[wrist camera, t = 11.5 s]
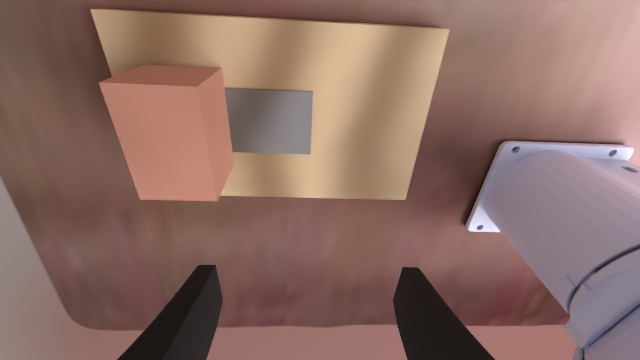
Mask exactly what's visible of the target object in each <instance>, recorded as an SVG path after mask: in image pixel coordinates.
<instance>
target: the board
mask: <svg viewBox="0 0 640 360" xmlns="http://www.w3.org/2000/svg"><path fill="white" fill-rule="evenodd" d="M90 10H91V13H92V17H93V20H94V23H95V26H96V29H97V32H98V35H99V38H100V41H101V44H102V47H103V50H104V53H105V56H106V59H107V62H108V65H109V69H110V72H111V75H112V77H114V76H117V75H119V74H122V73H124V72H127V71H130V70H132V69H135V68H137V67H140V66H142V65H145V64H152V65H173V66H194V67H216V68H222V72H223V80H224V88H225V96H226V104H227V112H228V120H229V128H230V136H231V144H232V151H233V159H234V166H233V168H232V170H231V173H230V175H229V177H228V179H227V181H226V183H225V186H224V188H223V190H222V192H221V194H220V196H258V197H300V198H341V199H383V200H405V199H406V195H407V192H408V188H409V184H410V180H411V176H412V172H413V169H414V165H415V161H416V157H417V153H418V149H419V146H420V142H421V138H422V134H423V130H424V126H425V123H426V119H427V115H428V111H429V107H430V103H431V99H432V96H433V92H434V88H435V84H436V80H437V76H438V73H439V69H440V65H441V61H442V57H443V53H444V50H445V46H446V42H447V38H448V34H449V30H450V29H445V28H440V27H422V26H404V25H387V24H369V23H351V22H333V21H315V20H298V19H280V18H262V17H244V16H227V15H209V14H191V13H173V12H155V11H138V10H120V9H90Z"/></svg>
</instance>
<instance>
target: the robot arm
mask: <svg viewBox="0 0 640 360" xmlns="http://www.w3.org/2000/svg"><path fill="white" fill-rule="evenodd" d="M514 147H516V148H515V149H514V150H513V151H512V149H513V148H514ZM633 152H634V149H633V147H631V146H628V145H614V144H585V143H557V142H529V141H505V142H503V143H502V144H501V145H500V146H499V148H498V150H497V153H496V155H495V158H494V160H493V162H492V165H491V167H490V169H489V172H488V174H487V176H486V179H485V181H484V183H483V186H482V188H481V190H480V193H479V195H478V197H477V200H476V202H475V204H474V207H473V209H472V212H471V214H470V216H469V219H468V221H467V223H466V228H467V229H468V230H469V231H472V232H501V233H502V234H503V235H504V236H505V238H506V239H507V240H508V241H509V242H510V244H511V245H512V246H513V247H514V249H515V250H516V251H517V252H518V253H519V255H520V256H521V257H522V258H523V259H524V261H525V262H526V263H527V264H528V266H529V267H530V268H531V269H532V270H533V272H534V273H535V274H536V275H537V276H538V278H539V279H540V280H541V281H542V282H543V284H544V285H545V286H546V287H547V289H548V290H549V291H550V292H551V293H552V295H553V296H554V297H555V298H556V299H557V301H558V302H559V303H560V304H561V306H562V307H563V308H564V309H565V310H566V312H567V313H568V314H569V315H570V320H569V321H568V323H567V324H566V325H565V326H564V328H565V329H566V330H567V332H568V333H569V334H570V335H571V337H572V338H573V339H574V341H576V343H577V344H578V347H577V348H576V349H575V352H574V355H573V360H640V167H638V166H636V165H634V164H632V163H630V162H628V159H629V158H630V157H631V155H632V154H633ZM479 225H480V226H479ZM222 300H223V298H222V293H221V289H220V284H219V279H218V275H217V270H216V265H199V266H197V267H196V269H195V270H194V271H193V273H192V274H191V275H190V276H189V278H188V279H187V280H186V282H185V283H184V284H183V285H182V287H181V288H180V289H179V291H178V292H177V293H176V294H175V295H174V297H173V298H172V299H171V300H170V302H169V303H168V304H167V305H166V306H165V308H164V309H163V310H162V311H161V312H160V313H159V315H158V316H157V317H156V318H155V319H154V320H153V322H152V323H151V324H150V325H149V326H148V327H147V328H146V329H145V330H144V332H143V333H142V334H141V335H140V336H139V337H138V338H137V339H136V340H135V341H134V342H133V344H132V345H131V346H130V347H129V348H128V349H127V350H126V351H125V352H124V353H123V354H122V355H121V356H120V357H119V358H118V359H117V360H206V358H207V355H208V353H209V350H210V346H211V343H212V340H213V337H214V334H215V331H216V328H217V324H218V319H219V315H220V310H221V305H222ZM393 303H394V309H395V315H396V320H397V325H398V329H399V332H400V336H401V339H402V342H403V346H404V349H405V353H406V356H407V359H408V360H495V359H494V358H493V357H492V356H491V355H490V354H489V353H488V352H487V351H486V349H485V348H484V347H483V346H482V345H481V344H480V343H479V342H478V341H477V339H476V338H475V337H474V336H473V335H472V334H471V333H470V332H469V330H468V329H467V328H466V327H465V326H464V325H463V323H462V322H461V321H460V320H459V319H458V317H457V316H456V315H455V314H454V313H453V311H452V310H451V309H450V308H449V306H448V305H447V304H446V303H445V301H444V300H443V299H442V298H441V296H440V295H439V294H438V293H437V291H436V290H435V289H434V287H433V286H432V285H431V283H430V282H429V281H428V279H427V278H426V277H425V275H424V274H423V273H422V272H421V270H420V269H419V268H412V267H403V268H402V272H401V275H400V278H399V282H398V285H397V288H396V292H395V295H394V298H393Z"/></svg>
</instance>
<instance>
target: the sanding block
mask: <svg viewBox="0 0 640 360" xmlns="http://www.w3.org/2000/svg"><path fill="white" fill-rule="evenodd" d="M99 85H100V88H101V91H102V94H103V96H104V99H105V102H106V105H107V108H108V111H109V113H110V116H111V119H112V122H113V125H114V127H115V130H116V133H117V136H118V139H119V142H120V144H121V147H122V150H123V153H124V156H125V158H126V161H127V164H128V167H129V170H130V173H131V175H132V178H133V181H134V184H135V187H136V189H137V192H138V195H139V198H140V199H142V200H186V201H218V198H219V196H220V194H221V192H222V190H223V188H224V186H225V183H226V181H227V179H228V177H229V175H230V173H231V170H232V168H233V166H234V159H233V151H232V144H231V136H230V128H229V120H228V112H227V104H226V96H225V88H224V80H223V72H222V68H216V67H194V66H173V65H152V64H145V65H142V66H140V67H137V68H135V69H132V70H130V71H127V72H124V73H122V74H119V75H117V76H114V77H111V78H109V79H106V80H104V81H101V82H99Z"/></svg>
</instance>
